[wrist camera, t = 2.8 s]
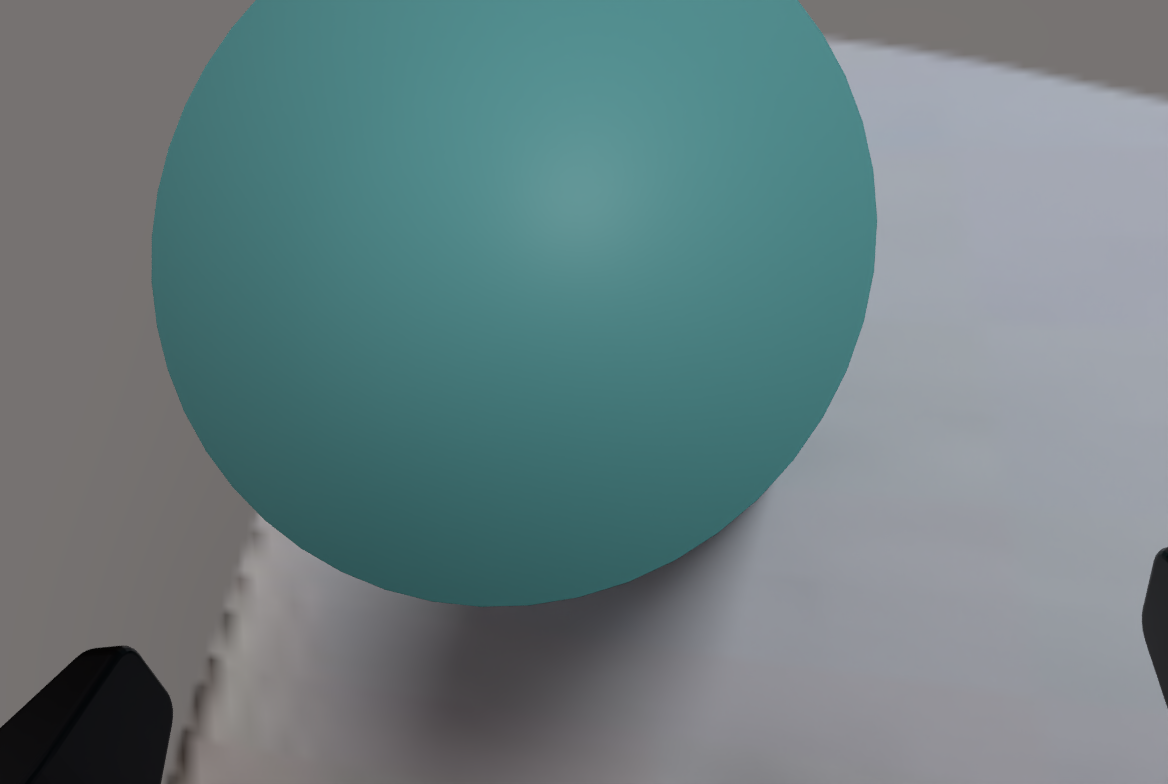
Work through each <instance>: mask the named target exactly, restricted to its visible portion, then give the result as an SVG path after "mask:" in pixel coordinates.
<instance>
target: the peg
mask: <svg viewBox="0 0 1168 784" xmlns="http://www.w3.org/2000/svg"><path fill="white" fill-rule="evenodd" d="M876 229H877V213H876V200H875V187H874V174H873V167H872V162H871V158H870V153H869V149H868V144H867V140H866V135H865V131H864V126H863V122H862V119H861V116H860V113H859V111H858V108H857V105H856V103H855V100H854V97H853V95H852V92H851V89H850V87H849V84H848V81H847V79H846V76H845V74H844V72H843V70H842V69H841V67H840V65H839V63H838V61H837V59H836V58H835V56H834V54H833V52H832V50H831V48H830V47H829V45H828V43H827V41H826V39H825V37H824V36H823V34H822V32H821V31H820V30H819V28H818V27H817V26H816V24H815V23H814V21H813V20H812V19H811V17H810V16H809V15H808V13H807V12H806V11H805V9H804V8H803V7H802V5H801V4H800V3H799V1H798V0H256V1H255V2H254V3H253V4H252V5H251V6H250V8H249V9H248V10H247V11H246V12H245V13H244V14H243V16H242V17H241V18H240V19H239V20H238V22H237V23H236V24H235V25H234V26H233V27H232V28H231V30H230V31H229V33H228V34H227V36H226V37H225V39H224V40H223V42H222V43H221V45H220V46H219V47H218V49H217V50H216V52H215V53H214V55H213V56H212V58H211V59H210V61H209V62H208V64H207V65H206V67H205V69H204V71H203V72H202V74H201V76H200V78H199V80H198V82H197V84H196V86H195V88H194V90H193V91H192V93H191V96H190V97H189V99H188V101H187V103H186V105H185V107H184V110H183V112H182V115H181V118H180V120H179V123H178V125H177V128H176V131H175V133H174V136H173V139H172V141H171V144H170V146H169V149H168V153H167V157H166V161H165V165H164V169H163V173H162V177H161V182H160V185H159V189H158V194H157V202H156V209H155V218H154V225H153V234H152V287H153V296H154V305H155V312H156V321H157V328H158V331H159V336H160V340H161V344H162V348H163V352H164V356H165V360H166V364H167V368H168V371H169V374H170V376H171V379H172V381H173V384H174V386H175V389H176V391H177V394H178V397H179V399H180V402H181V404H182V407H183V410H184V412H185V414H186V415H187V417H188V419H189V421H190V423H191V424H192V426H193V428H194V430H195V432H196V434H197V435H198V437H199V439H200V441H201V443H202V445H203V446H204V448H205V450H206V452H207V453H208V454H209V455H210V457H211V458H212V460H213V461H214V462H215V464H216V465H217V466H218V468H219V469H220V470H221V472H222V473H223V475H224V476H225V477H226V479H227V480H228V481H229V482H230V484H231V485H232V487H233V488H234V489H235V490H236V491H237V492H238V493H239V494H240V495H241V496H242V497H243V498H244V499H245V500H246V501H247V502H248V503H249V504H250V505H251V506H252V507H253V508H254V509H255V510H256V512H257V513H258V514H259V515H260V516H261V517H262V518H263V519H264V520H265V521H267V522H268V523H269V524H271V525H272V526H273V527H274V528H276V529H277V530H278V531H279V532H281V533H282V534H283V535H285V536H286V537H287V538H288V539H290V540H291V541H292V542H294V543H295V544H296V545H297V546H299V547H300V548H301V549H303V550H305V551H307V552H308V553H310V554H312V555H313V556H315V557H317V558H319V559H320V560H322V561H324V562H326V563H327V564H329V565H331V566H332V567H334V568H336V569H338V570H339V571H341V572H343V573H346V574H348V575H351V576H353V577H356V578H358V579H361V580H363V581H365V582H368V583H370V584H373V585H375V586H378V587H380V588H383V589H385V590H389V591H393V592H397V593H401V594H405V595H409V596H413V597H417V598H421V599H425V600H428V601H433V602H442V603H451V604H460V605H469V606H478V607H487V606H524V605H535V604H541V603H547V602H553V601H559V600H565V599H571V598H577V597H581V596H585V595H588V594H591V593H594V592H598V591H601V590H604V589H607V588H611V587H614V586H617V585H620V584H624V583H627V582H629V581H631V580H634V579H636V578H638V577H640V576H642V575H644V574H647V573H649V572H651V571H653V570H655V569H657V568H659V567H662V566H664V565H666V564H668V563H670V562H672V561H675V560H676V559H678V558H679V557H681V556H682V555H684V554H686V553H687V552H689V551H690V550H692V549H693V548H695V547H697V546H698V545H700V544H701V543H703V542H704V541H706V540H707V539H709V538H711V537H712V536H714V535H715V534H717V533H718V532H720V531H721V530H722V529H723V528H724V527H725V526H727V525H728V524H729V523H730V522H731V521H733V520H734V519H735V518H736V517H737V516H739V515H740V514H741V513H742V512H743V511H744V510H746V509H747V508H748V507H749V506H750V505H752V504H753V503H754V502H755V501H756V500H758V499H759V497H760V496H761V495H762V494H763V493H764V492H765V491H766V490H767V489H768V488H769V486H770V485H771V484H772V483H773V482H774V481H775V480H776V479H777V478H778V477H779V475H780V474H781V473H782V472H783V471H784V470H785V469H786V468H787V467H788V465H789V464H790V463H791V462H792V461H793V460H794V458H795V457H796V456H797V454H798V453H799V451H800V450H801V448H802V447H803V445H804V444H805V442H806V441H807V440H808V438H809V437H810V435H811V434H812V432H813V431H814V429H815V428H816V427H817V425H818V424H819V422H820V421H821V419H822V418H823V416H824V414H825V412H826V410H827V408H828V406H829V404H830V402H831V400H832V398H833V396H834V394H835V392H836V391H837V389H838V387H839V385H840V383H841V381H842V379H843V377H844V375H845V373H846V371H847V368H848V365H849V362H850V359H851V357H852V354H853V351H854V348H855V345H856V342H857V339H858V336H859V334H860V331H861V328H862V325H863V322H864V318H865V313H866V308H867V303H868V298H869V293H870V288H871V283H872V278H873V273H874V261H875V245H876Z"/></svg>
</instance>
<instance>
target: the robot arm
mask: <svg viewBox="0 0 1168 784" xmlns="http://www.w3.org/2000/svg"><path fill="white" fill-rule="evenodd" d="M1142 626H1143V633H1144V638H1145V641H1146V644H1147V647H1148V651H1149V654H1150V657H1151V660H1152V663H1153V666H1154V669H1155V672H1156V675H1157V678H1158V681H1159V684H1160V687H1161V690H1162V693H1163V696H1164V699H1165V702H1166V705H1167V708H1168V547H1167V548H1163V549H1162V550H1160V551H1159V552H1158V553H1157V555H1156V557H1155V559H1154V562H1153V567H1152V571H1151V576H1150V580H1149V584H1148V589H1147V593H1146V597H1145V602H1144V606H1143V611H1142ZM172 720H173V708H172V702H171V699H170V696H169V694H168V692H167V691H166V690H165V688H164V687H163V686H162V684H161V683H160V682H159V680H158V679H157V677H156V676H155V675H154V673H153V672H152V671H151V669H150V668H149V667H148V665H147V664H146V663H145V661H144V660H143V659H142V657H141V656H140V654H139V653H138V652H137V651H136V650H135V649H133V648H131V647H129V646H113V647H102V648H94V649H90V650H87V651H85V652H83V653H82V654H80V655H79V656H78V657H77V658H75V659H74V660H73V661H72V662H71V663H70V664H69V665H68V666H67V667H66V668H65V669H63V670H62V671H61V672H60V673H59V674H58V675H57V676H56V677H55V678H54V679H53V680H52V681H51V682H49V683H48V684H47V685H46V686H45V687H44V688H43V689H42V690H41V691H40V692H39V693H38V694H36V695H35V696H34V697H33V698H32V699H31V700H30V701H29V702H28V703H27V704H26V705H25V706H24V707H23V708H21V709H20V710H19V711H18V712H17V713H16V714H15V715H14V716H13V717H12V718H11V719H10V720H8V721H7V722H6V723H5V724H4V725H3V726H2V727H1V728H0V784H161V780H162V775H163V770H164V765H165V759H166V754H167V748H168V743H169V738H170V732H171V727H172Z"/></svg>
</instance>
